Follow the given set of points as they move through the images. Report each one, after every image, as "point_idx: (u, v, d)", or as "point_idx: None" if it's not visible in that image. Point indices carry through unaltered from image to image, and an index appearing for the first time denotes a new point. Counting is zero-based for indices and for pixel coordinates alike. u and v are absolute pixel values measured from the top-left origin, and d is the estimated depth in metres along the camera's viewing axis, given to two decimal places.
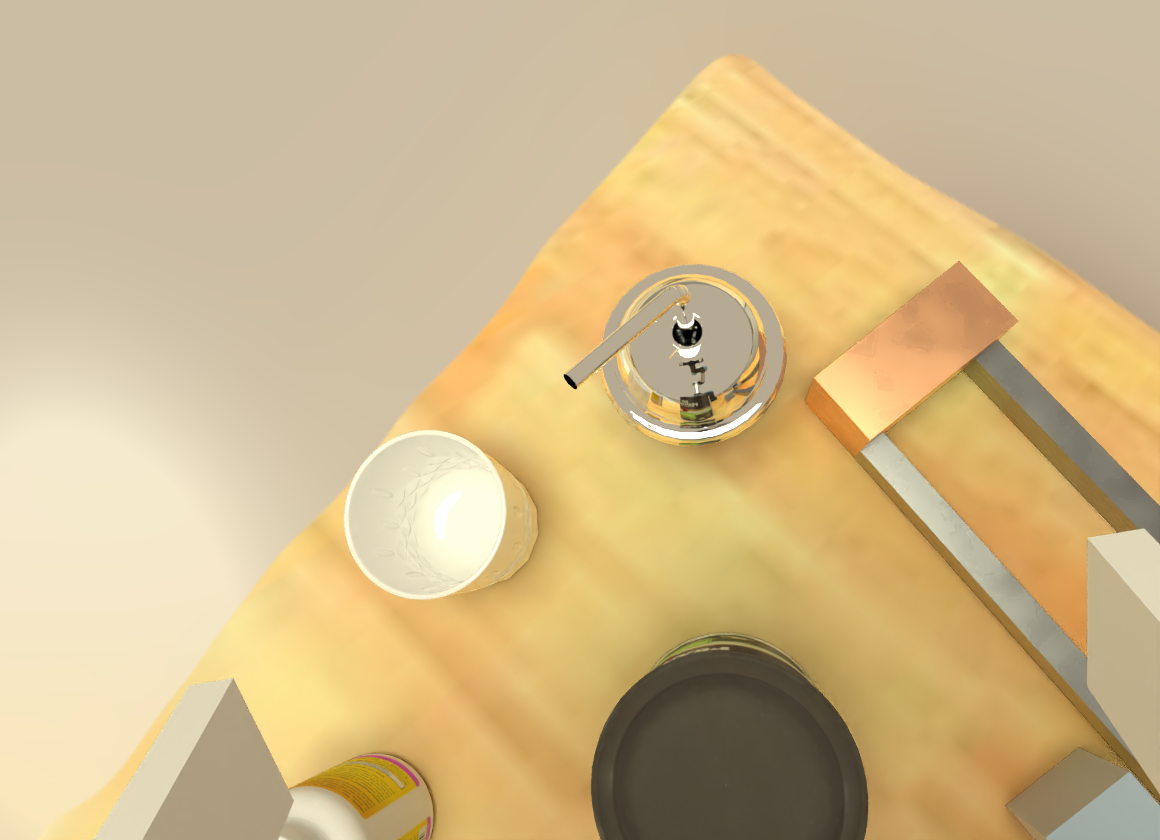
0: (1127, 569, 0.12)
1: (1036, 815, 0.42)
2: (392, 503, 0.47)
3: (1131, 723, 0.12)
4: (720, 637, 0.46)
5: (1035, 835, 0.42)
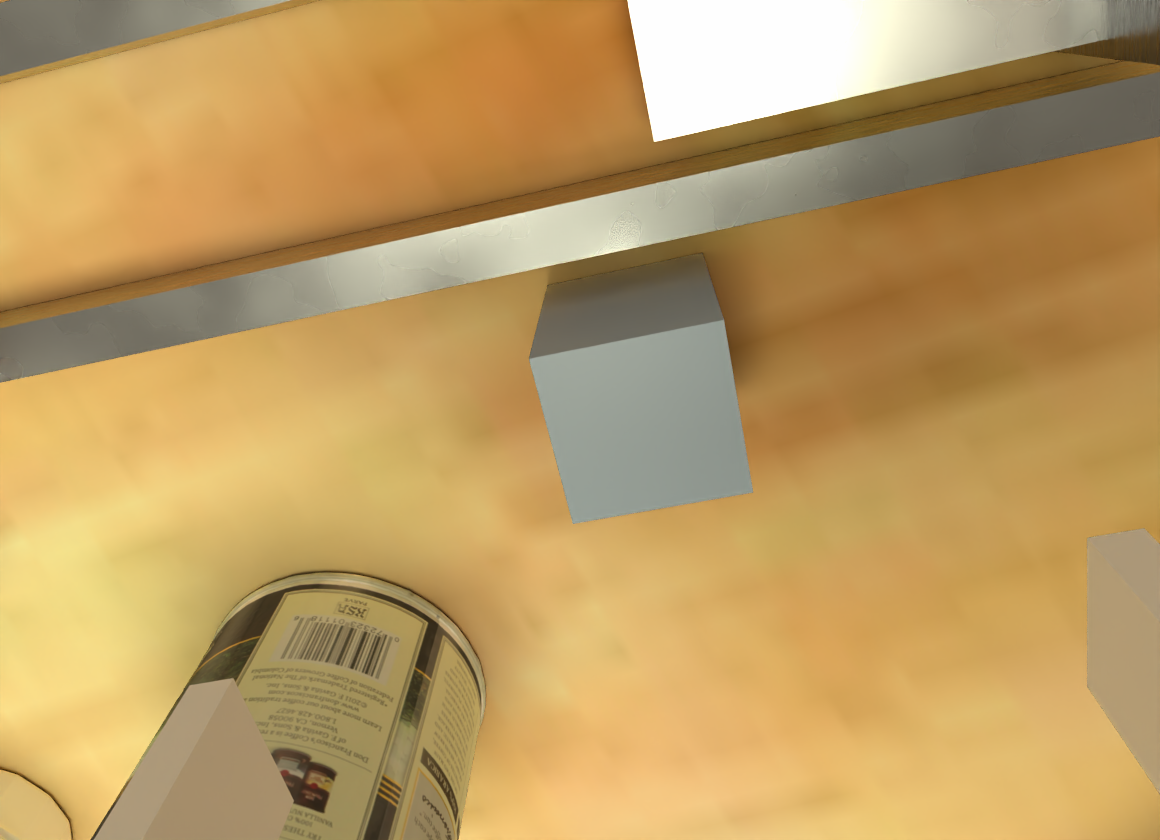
0: (1127, 569, 0.12)
1: None
2: None
3: (1131, 723, 0.12)
4: None
5: None
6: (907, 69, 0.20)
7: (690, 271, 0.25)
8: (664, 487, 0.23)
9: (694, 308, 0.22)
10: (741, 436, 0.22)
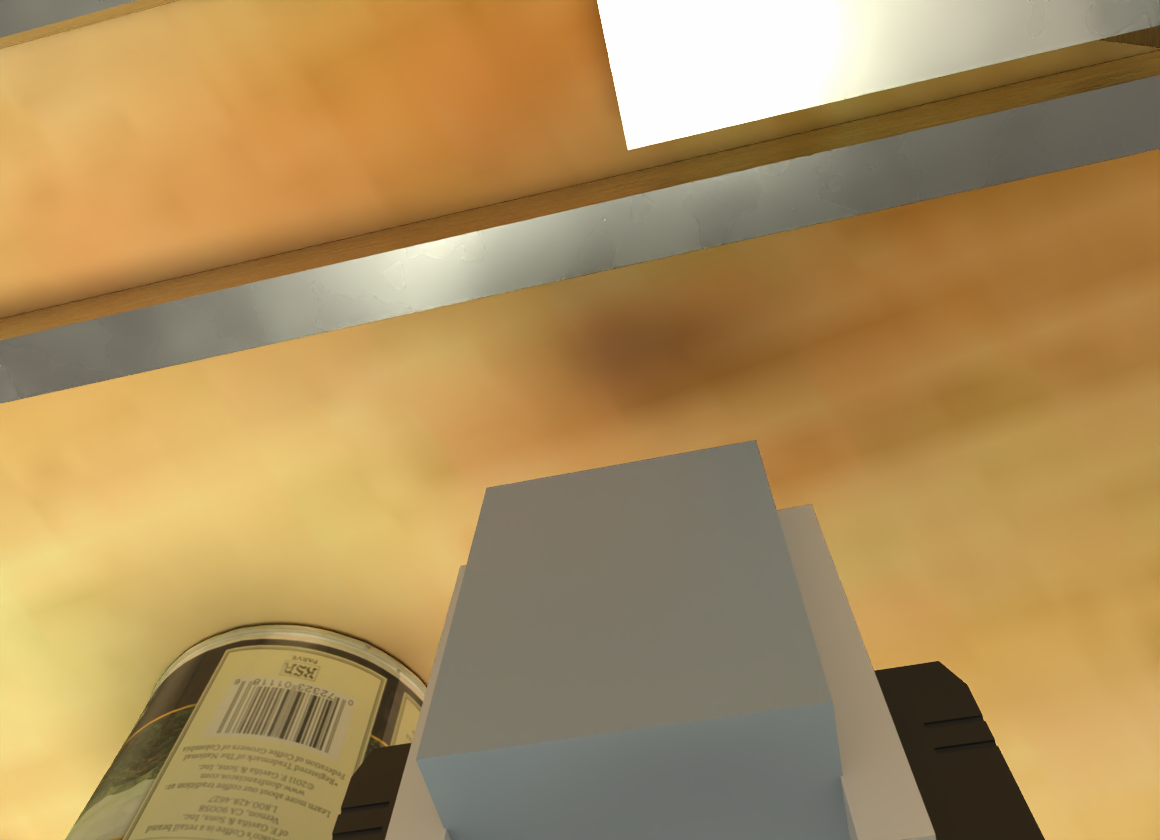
0: None
1: None
2: None
3: None
4: None
5: None
6: (925, 62, 0.17)
7: (739, 498, 0.13)
8: None
9: (761, 633, 0.11)
10: None
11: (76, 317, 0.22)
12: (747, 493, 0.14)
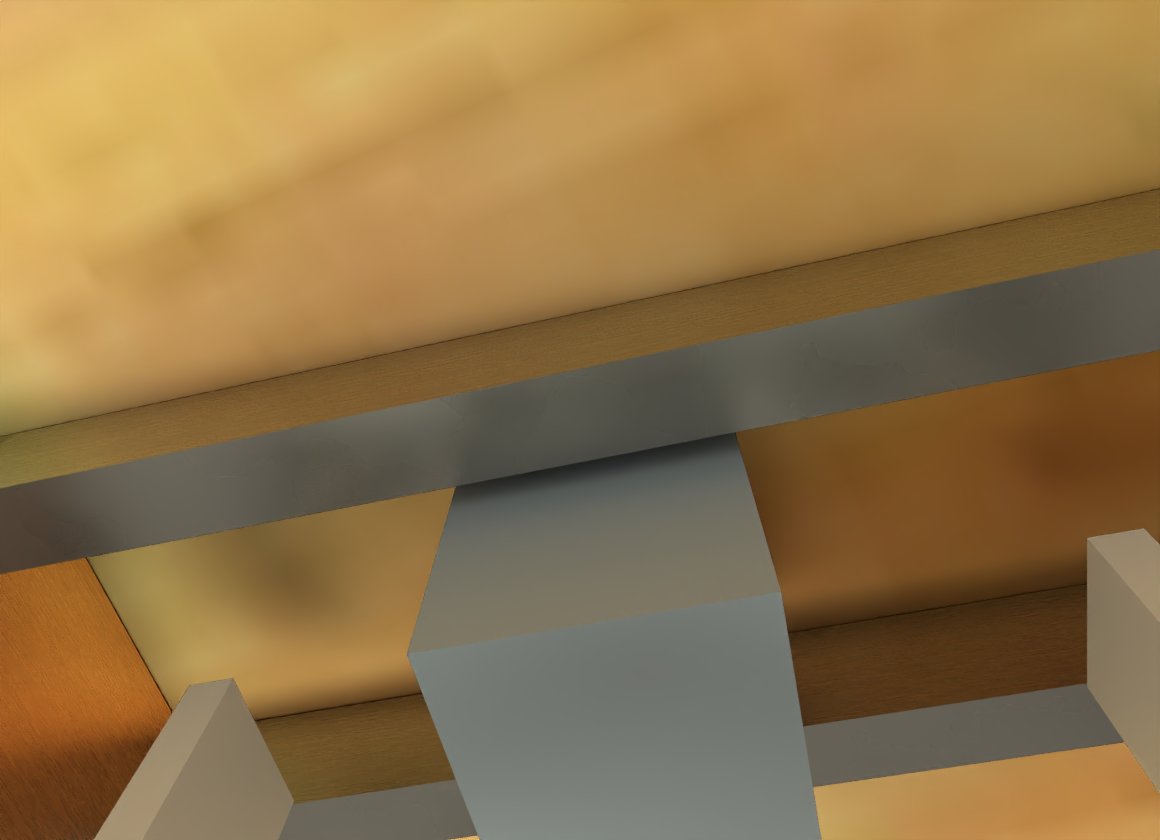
0: (1127, 569, 0.12)
1: None
2: None
3: (1131, 724, 0.12)
4: None
5: None
6: None
7: None
8: None
9: (719, 541, 0.12)
10: (806, 776, 0.12)
11: None
12: None
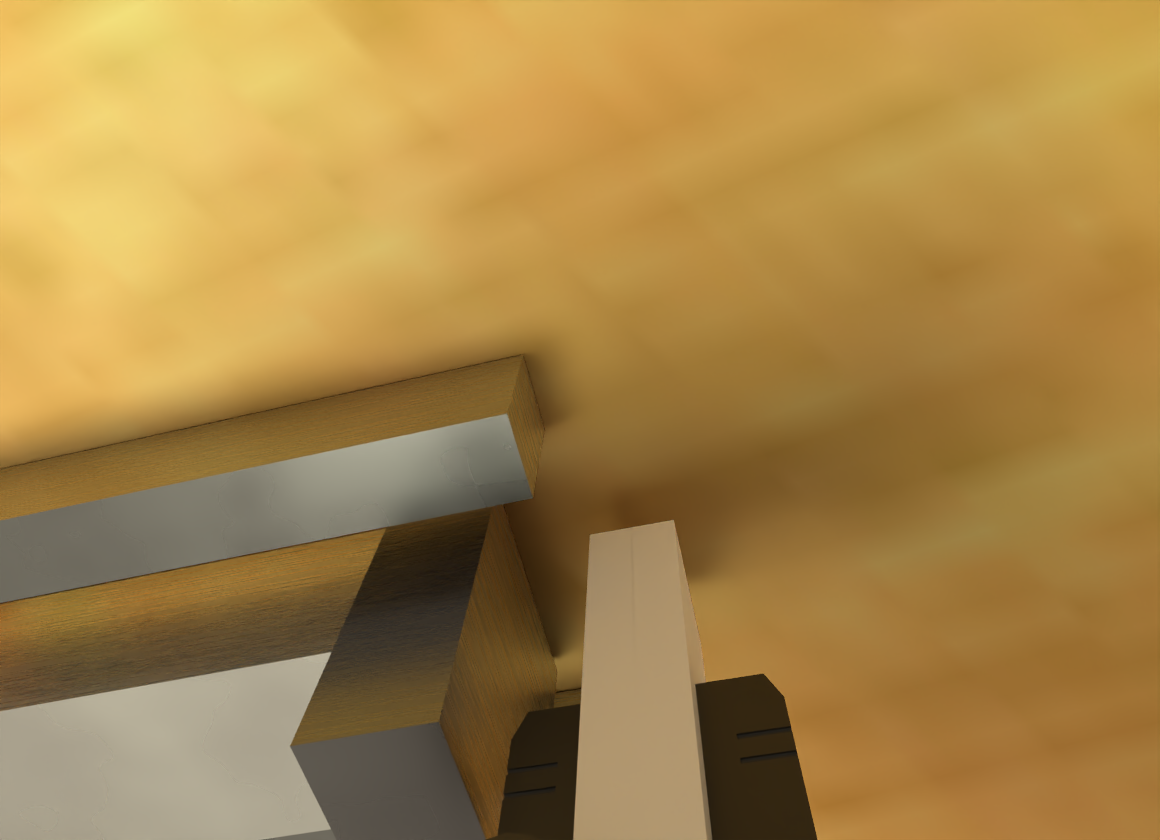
0: (640, 551, 0.15)
1: None
2: None
3: None
4: None
5: None
6: (187, 837, 0.16)
7: None
8: None
9: None
10: None
11: None
12: None
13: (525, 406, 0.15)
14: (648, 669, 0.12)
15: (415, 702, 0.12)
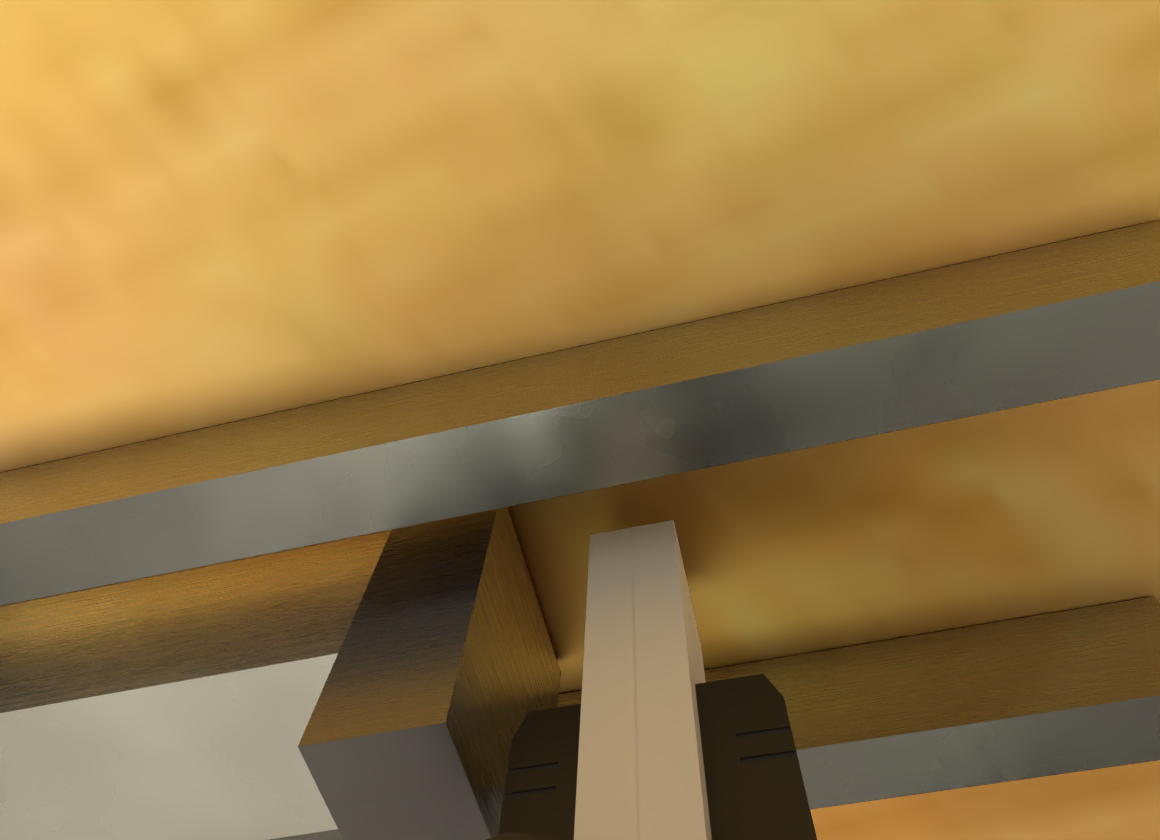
0: (639, 552, 0.15)
1: None
2: None
3: None
4: None
5: None
6: (194, 836, 0.16)
7: None
8: None
9: None
10: None
11: None
12: None
13: None
14: (648, 669, 0.12)
15: (422, 704, 0.12)
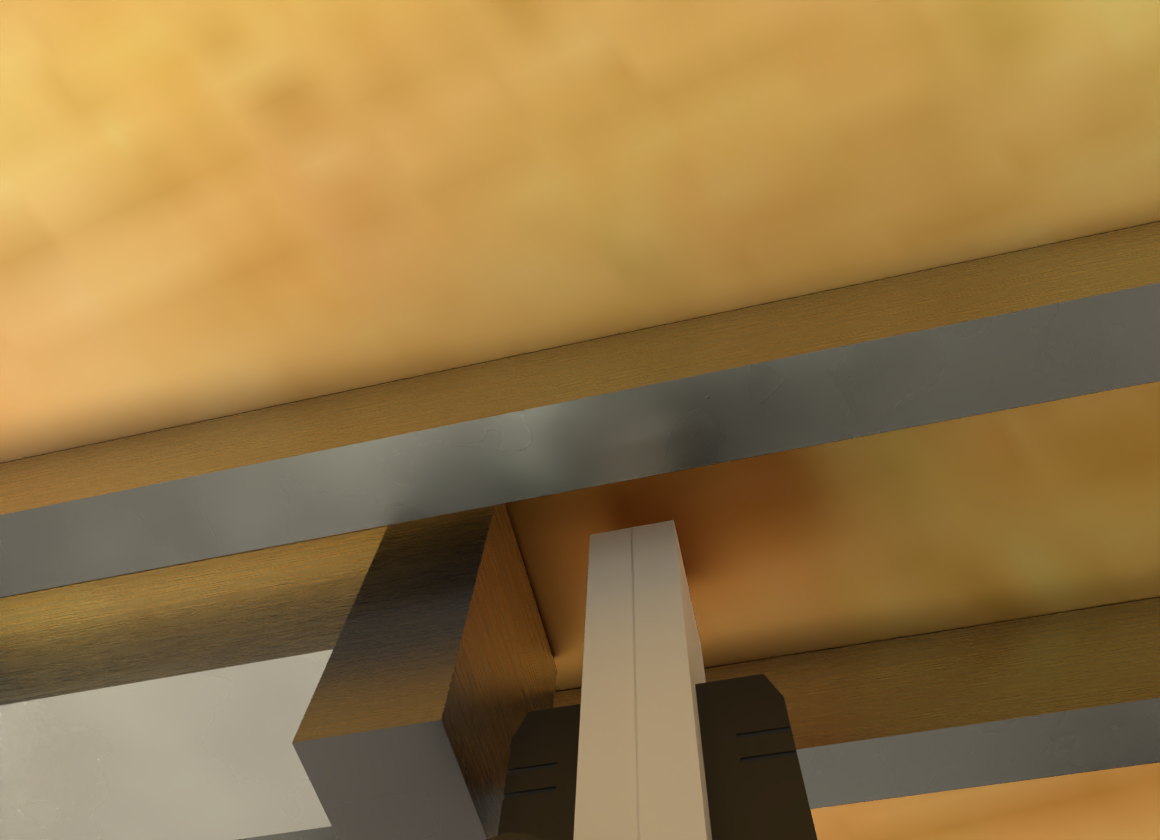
0: (639, 552, 0.15)
1: None
2: None
3: None
4: None
5: None
6: (186, 833, 0.16)
7: None
8: None
9: None
10: None
11: None
12: None
13: None
14: (648, 669, 0.12)
15: (417, 700, 0.12)
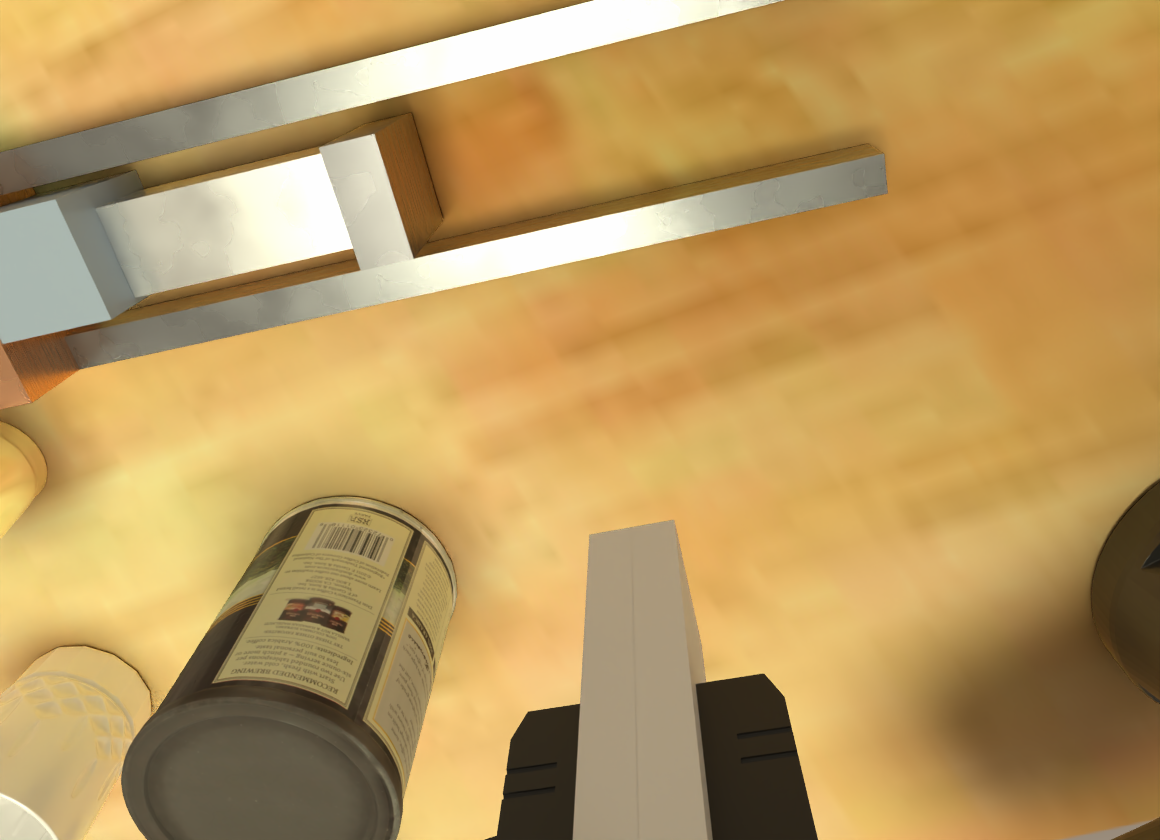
0: (640, 552, 0.15)
1: None
2: (4, 807, 0.46)
3: None
4: None
5: None
6: (267, 259, 0.35)
7: (105, 179, 0.36)
8: (53, 316, 0.34)
9: (60, 195, 0.34)
10: (91, 279, 0.34)
11: (240, 294, 0.38)
12: (109, 178, 0.36)
13: None
14: (648, 669, 0.12)
15: (366, 134, 0.31)
